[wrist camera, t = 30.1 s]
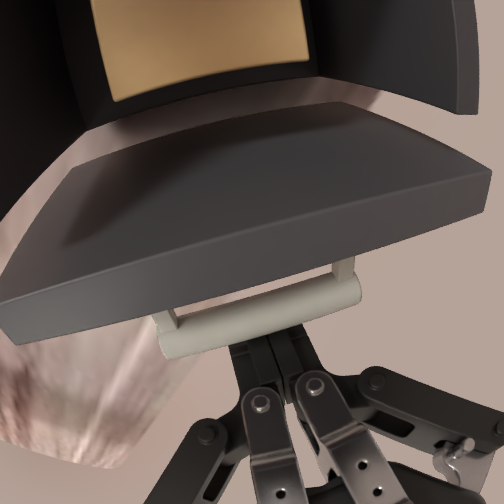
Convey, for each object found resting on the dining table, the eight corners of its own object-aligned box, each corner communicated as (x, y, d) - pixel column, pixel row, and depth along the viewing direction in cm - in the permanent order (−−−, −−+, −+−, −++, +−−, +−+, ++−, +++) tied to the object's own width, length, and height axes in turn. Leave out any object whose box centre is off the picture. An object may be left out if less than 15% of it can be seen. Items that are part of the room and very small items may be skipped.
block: (136, 88, 8) (113, 103, 5) (113, -18, 6) (81, -60, 2) (259, 59, 9) (311, 60, 5) (240, -44, 6) (280, -93, 3)
